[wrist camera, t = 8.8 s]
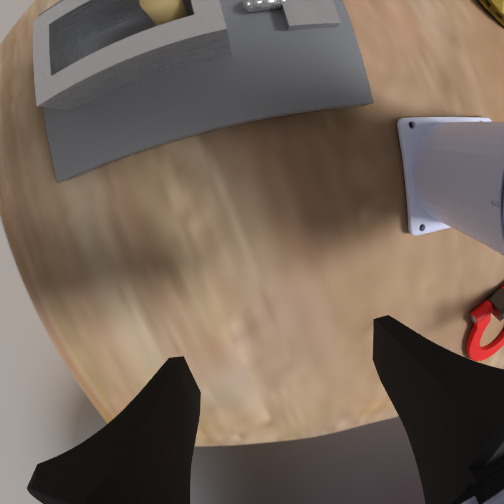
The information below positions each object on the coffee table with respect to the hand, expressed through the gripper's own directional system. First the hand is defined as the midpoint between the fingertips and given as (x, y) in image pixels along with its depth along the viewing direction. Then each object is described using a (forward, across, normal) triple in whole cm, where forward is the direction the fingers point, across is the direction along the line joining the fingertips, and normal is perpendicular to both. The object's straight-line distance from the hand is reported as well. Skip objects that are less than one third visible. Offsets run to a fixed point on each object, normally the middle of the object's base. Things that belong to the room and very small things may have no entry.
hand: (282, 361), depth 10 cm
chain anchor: (+8, -4, -16) cm, 18 cm away
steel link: (+8, +4, -16) cm, 18 cm away
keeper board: (+9, +2, -16) cm, 19 cm away
